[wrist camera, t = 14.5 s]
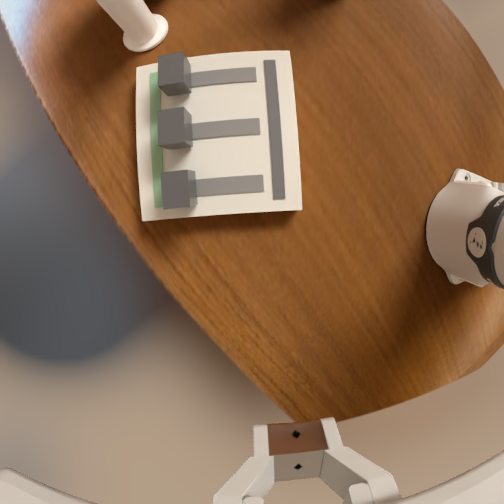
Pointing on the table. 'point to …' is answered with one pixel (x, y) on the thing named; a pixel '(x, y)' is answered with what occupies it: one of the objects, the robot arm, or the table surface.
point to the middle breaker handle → (174, 128)
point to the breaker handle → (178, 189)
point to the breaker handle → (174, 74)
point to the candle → (136, 23)
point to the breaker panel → (224, 136)
